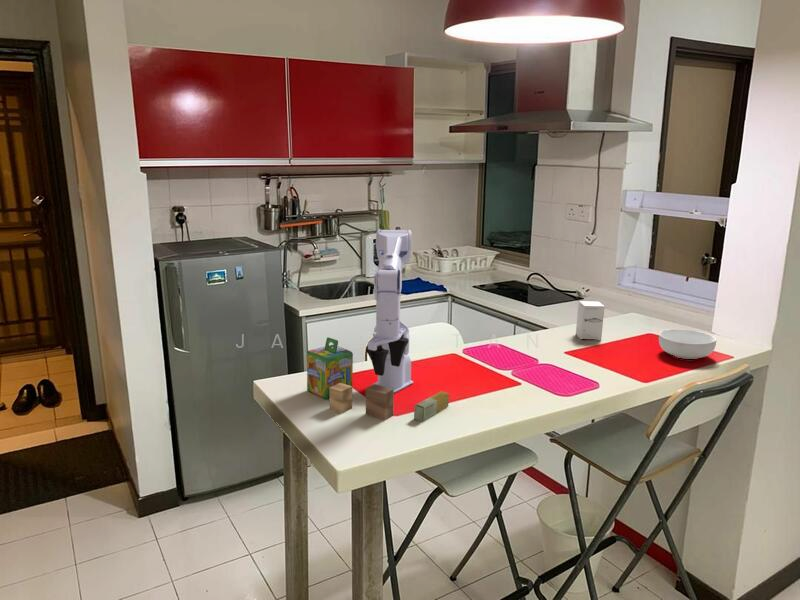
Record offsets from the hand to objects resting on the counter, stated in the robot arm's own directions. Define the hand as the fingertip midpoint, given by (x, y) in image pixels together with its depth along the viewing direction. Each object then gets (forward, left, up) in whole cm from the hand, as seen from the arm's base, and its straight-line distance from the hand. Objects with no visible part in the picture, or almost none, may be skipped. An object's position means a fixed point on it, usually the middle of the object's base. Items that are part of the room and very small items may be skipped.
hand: (387, 370), depth 151 cm
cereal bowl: (-91, +53, -11) cm, 105 cm away
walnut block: (+4, +1, -10) cm, 11 cm away
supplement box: (-92, +21, -11) cm, 95 cm away
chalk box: (0, -19, -11) cm, 22 cm away
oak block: (+7, -9, -10) cm, 16 cm away
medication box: (-5, +10, -11) cm, 16 cm away
